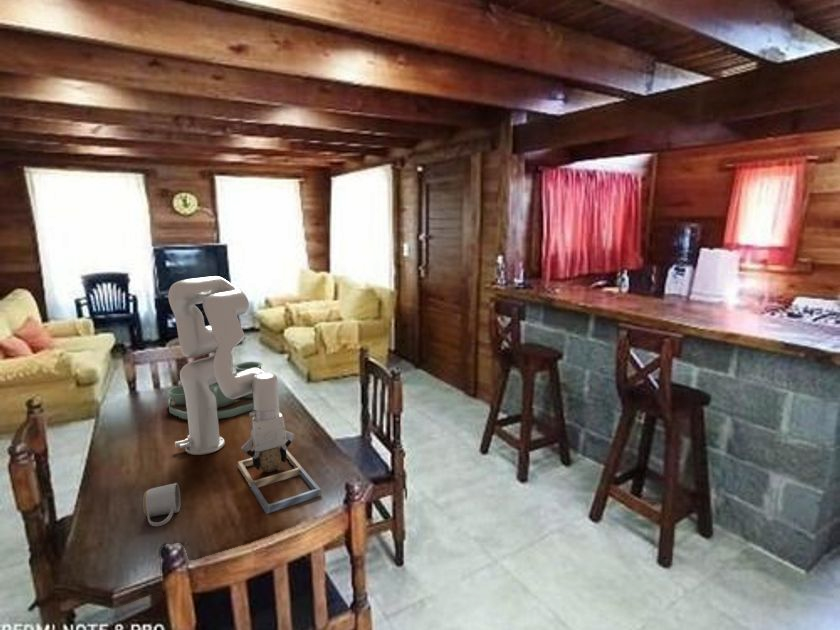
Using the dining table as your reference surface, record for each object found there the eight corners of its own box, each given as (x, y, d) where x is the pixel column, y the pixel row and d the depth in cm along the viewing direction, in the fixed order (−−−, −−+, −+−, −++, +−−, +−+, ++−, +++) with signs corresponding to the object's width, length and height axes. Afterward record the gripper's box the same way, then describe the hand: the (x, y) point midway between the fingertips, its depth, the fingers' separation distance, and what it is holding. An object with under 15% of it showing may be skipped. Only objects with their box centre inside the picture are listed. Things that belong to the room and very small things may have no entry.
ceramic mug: (149, 507, 134) (145, 482, 133) (181, 501, 137) (178, 477, 135) (141, 531, 125) (138, 504, 123) (176, 524, 127) (173, 498, 126)
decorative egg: (269, 463, 158) (267, 435, 156) (286, 467, 156) (285, 439, 154) (253, 474, 152) (251, 444, 150) (272, 478, 149) (270, 449, 147)
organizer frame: (266, 514, 132) (265, 507, 131) (238, 467, 156) (237, 461, 155) (321, 495, 140) (320, 489, 140) (286, 454, 165) (286, 448, 164)
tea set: (244, 381, 237) (241, 349, 234) (282, 404, 209) (280, 368, 205) (156, 401, 211) (151, 365, 208) (185, 431, 182) (181, 390, 179)
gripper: (241, 423, 142) (245, 477, 145) (298, 410, 151) (300, 461, 155) (234, 414, 148) (238, 467, 152) (289, 402, 158) (292, 452, 161)
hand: (270, 463), depth 153 cm, fingers open, 7 cm apart
